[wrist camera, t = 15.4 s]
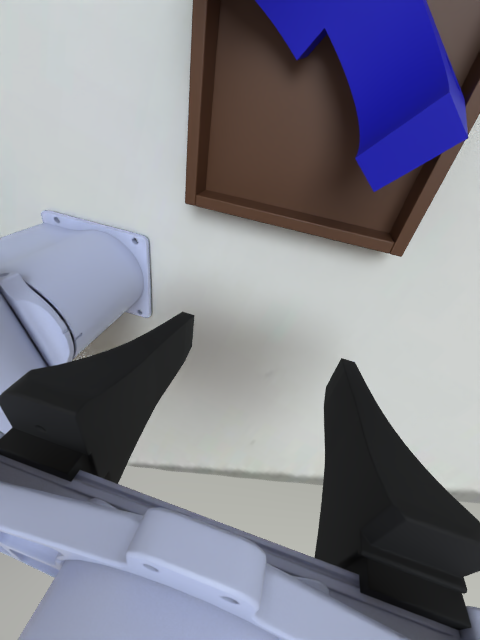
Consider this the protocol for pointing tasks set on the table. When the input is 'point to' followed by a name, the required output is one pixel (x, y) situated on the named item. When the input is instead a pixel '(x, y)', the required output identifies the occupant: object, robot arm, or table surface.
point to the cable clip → (384, 76)
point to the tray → (303, 129)
